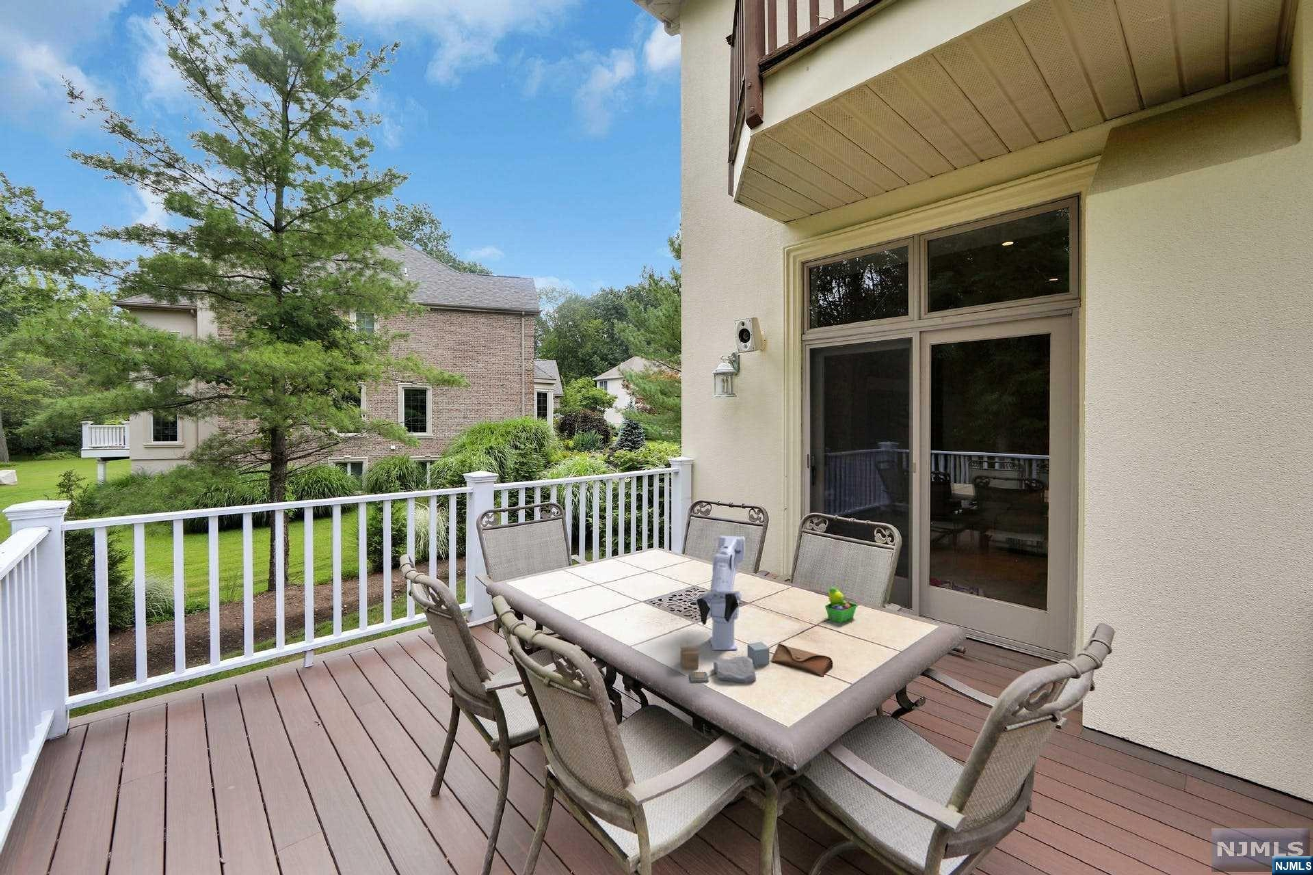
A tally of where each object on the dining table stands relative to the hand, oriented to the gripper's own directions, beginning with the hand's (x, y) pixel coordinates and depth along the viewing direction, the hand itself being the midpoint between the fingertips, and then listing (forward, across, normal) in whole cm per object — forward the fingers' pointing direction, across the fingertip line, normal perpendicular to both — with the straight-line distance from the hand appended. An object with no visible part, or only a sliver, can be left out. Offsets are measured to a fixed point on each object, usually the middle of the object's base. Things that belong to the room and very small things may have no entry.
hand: (714, 621), depth 155 cm
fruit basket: (-39, +23, +56) cm, 72 cm away
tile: (+12, -8, +10) cm, 17 cm away
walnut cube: (+6, -13, +12) cm, 19 cm away
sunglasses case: (-2, +16, +28) cm, 33 cm away
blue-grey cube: (-1, +5, +23) cm, 24 cm away
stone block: (+8, +1, +16) cm, 18 cm away
